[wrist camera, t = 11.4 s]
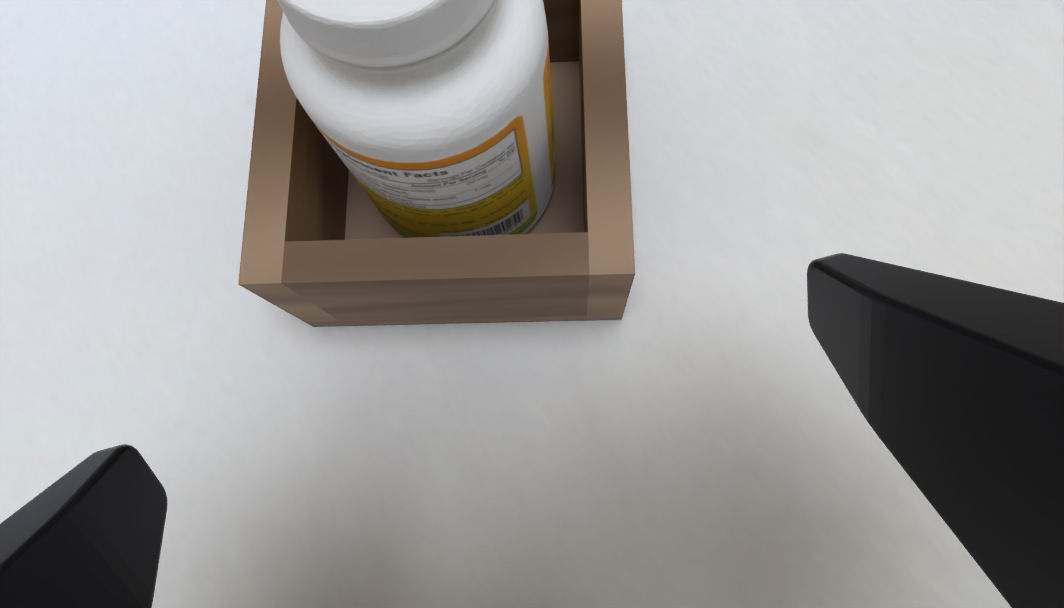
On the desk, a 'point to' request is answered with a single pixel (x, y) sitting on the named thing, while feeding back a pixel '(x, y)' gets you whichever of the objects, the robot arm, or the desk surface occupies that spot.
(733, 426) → the desk surface
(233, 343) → the desk surface
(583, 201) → the wooden box
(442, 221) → the supplement bottle
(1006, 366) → the robot arm
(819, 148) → the desk surface
